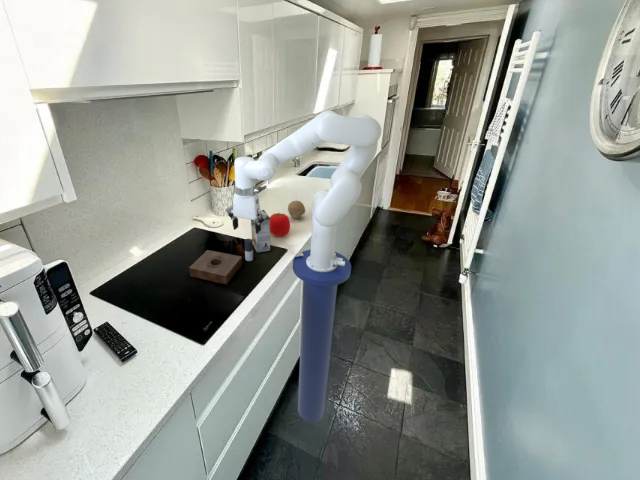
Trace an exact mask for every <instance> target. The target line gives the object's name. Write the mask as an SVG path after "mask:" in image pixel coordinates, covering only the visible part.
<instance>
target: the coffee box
mask: <svg viewBox="0 0 640 480" xmlns="http://www.w3.org/2000/svg"><path fill="white" fill-rule="evenodd" d="M261 210H262V211H264V212H265V213H267V212H266V211H265V209H261ZM259 217H260V218H262V215H259ZM250 228H251V239H252V245H253V247H254V248H253V249H255V252H256V253H257V254H259V253H263V252H264V253H265V252H268V251H269V252H270V251H271V233H270V216H269V214H267V217H266V218H265V220H264V221H263V222H262V223H261V231H259V233H258V234H256V222H255V221H254V220H250Z"/></svg>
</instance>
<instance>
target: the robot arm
mask: <svg viewBox="0 0 640 480" xmlns="http://www.w3.org/2000/svg"><path fill="white" fill-rule="evenodd" d="M381 136H382V126H381V123H379V121H378V120H377V119H375V118H373V117H372V116H371V115H369V114H365V113H361V114H357V115H355V116H350V115H341V114H338V113H337V112H335V111H333V110H325V111H322V112H321V113H319V114H318V115H316V116H314V117H313V118H312V119H310V120H309V121H308V122H307V123H305V124H304V125H303V126H301V127H299V128H298V129H297V130H296V131H294V132H292V133H291V134H290V135H288V136H287V137H284V139H281V141H279V142H277V143H276V144H275V145H273V146H272V147H270V148H269V149H268V150H266V151H265V152H264V153H262V154H261V155H260V156H259V157H258V158H257V160H255V159H254V158H253V157H251V156H240V157H239V156H238V157H236V158H235V160H234V163H233V165H234V184H235V192H234V193H233V199H232V200H233V201H232V205H231V206H227V208H225V211H226V214H227V216H228V217H229V218H230V220H231V222H232V227H233V230H234V231H235V230H237V229H238V228H239V219H245V220H250V221H251V220H254V221H255V222H256V234H258V233H259V231H261V223H262V222H263V221H264V220H265V218H266V217H267V215H268V213H267V212H266V211H265V210H264V211H265V212H266V213H265V212H264V211H262V210H263V209H261V205H260V197H259V194H258V193H259V191H260V189H259V188H257V186H256V180H259V181H265V182H267V181H270V180H272V178H274V176H275V174H276V172H277V171H276V170H277V168H278V167H280V166H281V165H283V164H284V163H286V162H288V161H289V160H291V159H293V158H298V157H303V156H306V155H307V154H309V153H310V152H312V151H313V150H315V149H316V148H317V147H319V146H320V145H322V144H324V143H325V142H327V143H331V144H337V145H345V146H350V149H349V150H348V151H347V153H346V155H345V156H344V158H343V159H342V160H341V163H339V165H338V166H337V168H336V169H335V170H334V171H333V173H332V175H331V176H330V178H329V179H330V180H329V181H330V189H321V190H319V191H318V192H317V193H316V194H315V195H314V197H313V200H312V204H311V208H312V210H311V211H312V212H311V213H312V214H311V234H310V250H311V251H310V256H309V257H308V258H307V260H306V264H307V266H308V267H309V268H310V269H312V270H314V271H317V272H330V271H333V270H335V269H336V267H337V265H340V266H345V261H343V258H337V257H336V253H334V252H336V241H337V231H338V223H339V222H340V221H341V220H342V219H343V218H344V217H345V215H346V214H347V213H348V212H349V211H350V209H351V208H352V207H353V205H354V204H355V203H356V201H357V200H358V199H359V197H360V195H361V193H362V182H361V178H362V177H363V175H365V172H366V171H367V169H368V168H369V167H370V165H371V164H372V162H373V160H374V159H375V156H376V154H377V150H378V143H379V140H380V138H381ZM259 215H262V218H260V217H259Z"/></svg>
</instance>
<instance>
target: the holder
mask: <svg viewBox="0 0 640 480" xmlns="http://www.w3.org/2000/svg"><path fill="white" fill-rule="evenodd" d="M242 266H243V256H241V255H235V254H231V253H225V252H221V251H216V250H215V251H214V250H209V249H207V250H205V252H204V253H203V254H202V255H200V257H199V258H197V259H196V260H195V261H194V262H193V264H191V265H190V266H189V267H188V269H189V276H190V277H192V278H197V279H200V280H205V281H209V282H214V283H217V284H222V285H226V286H227V285H228V284H229V283H230V281H231V280H232V278H233V277H234V276H236V274H237V273H238V271H239V270H240V269H241V267H242Z"/></svg>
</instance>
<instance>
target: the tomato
mask: <svg viewBox="0 0 640 480" xmlns="http://www.w3.org/2000/svg"><path fill="white" fill-rule="evenodd" d="M269 217H270V235H272V236H275V237H284V236H286V235H287V234H289V232H290V230H291V222H290V218H289V216H288V215H286V214H285V213H280V212H278V213H277V212H276V213H273V214H272V215H270V216H269Z"/></svg>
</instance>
